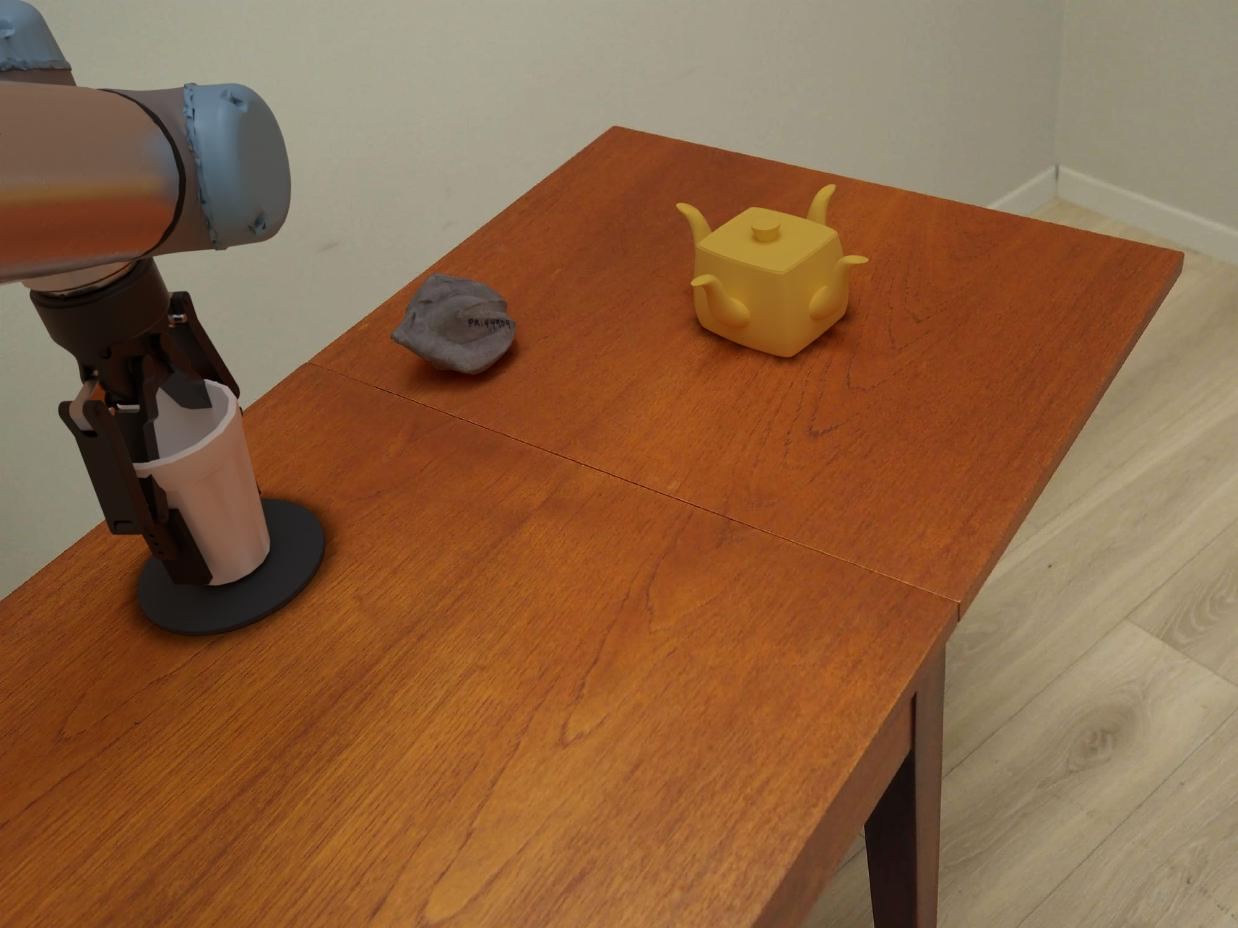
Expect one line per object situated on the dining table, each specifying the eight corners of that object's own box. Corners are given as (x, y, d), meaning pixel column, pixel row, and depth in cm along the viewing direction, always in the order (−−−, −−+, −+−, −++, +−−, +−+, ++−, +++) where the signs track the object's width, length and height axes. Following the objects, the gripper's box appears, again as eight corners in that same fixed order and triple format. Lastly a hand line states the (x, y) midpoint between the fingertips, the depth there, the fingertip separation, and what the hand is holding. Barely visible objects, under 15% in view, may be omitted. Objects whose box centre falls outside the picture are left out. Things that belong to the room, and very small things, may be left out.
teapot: (870, 353, 97) (869, 250, 91) (701, 377, 98) (689, 276, 92) (837, 266, 108) (834, 169, 102) (686, 288, 109) (674, 193, 103)
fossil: (456, 410, 99) (434, 331, 94) (384, 382, 104) (359, 305, 99) (541, 343, 105) (523, 265, 100) (469, 319, 110) (449, 244, 105)
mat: (212, 664, 80) (209, 659, 80) (103, 589, 88) (100, 584, 88) (363, 541, 88) (361, 537, 87) (251, 482, 96) (249, 477, 95)
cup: (322, 525, 89) (265, 385, 81) (244, 619, 82) (173, 478, 74) (218, 505, 93) (153, 370, 84) (135, 594, 86) (56, 457, 78)
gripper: (53, 364, 63) (206, 647, 77) (213, 183, 79) (316, 445, 93) (-67, 369, 65) (105, 645, 79) (114, 190, 80) (230, 447, 95)
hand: (219, 536), depth 86 cm, fingers closed on cup, 8 cm apart
